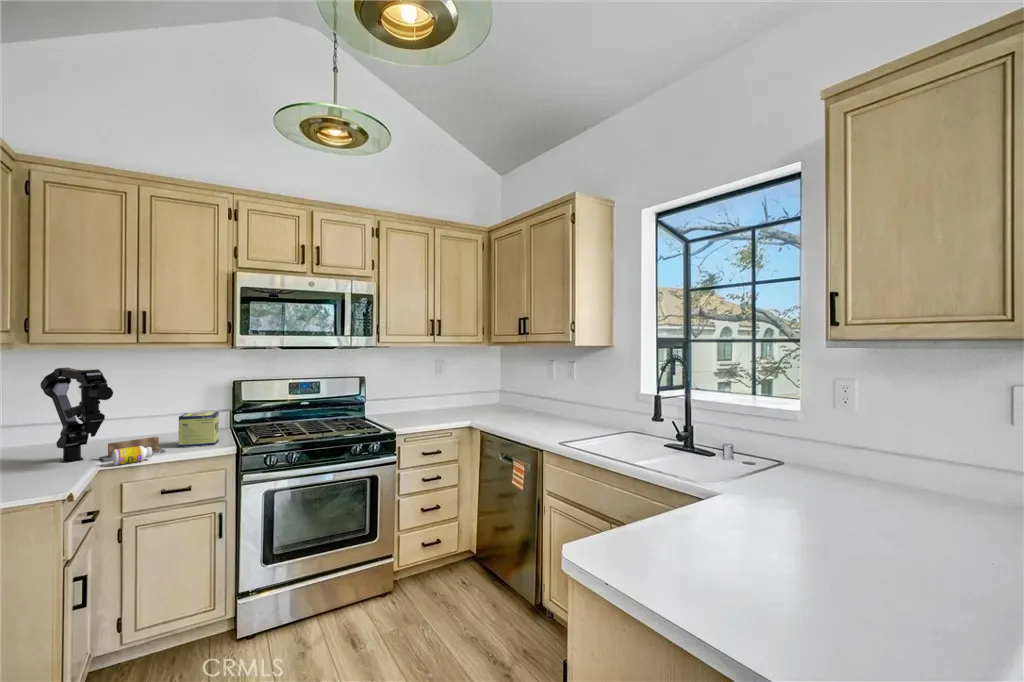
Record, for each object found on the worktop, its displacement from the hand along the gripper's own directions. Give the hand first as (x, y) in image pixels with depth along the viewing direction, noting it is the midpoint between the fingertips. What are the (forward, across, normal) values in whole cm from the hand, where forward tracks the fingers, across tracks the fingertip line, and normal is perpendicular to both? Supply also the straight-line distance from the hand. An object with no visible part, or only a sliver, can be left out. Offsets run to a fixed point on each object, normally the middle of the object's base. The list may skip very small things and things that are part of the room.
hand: (90, 435), depth 202 cm
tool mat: (+12, -1, +15) cm, 19 cm away
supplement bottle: (+9, +12, +5) cm, 16 cm away
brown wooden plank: (+11, -1, +15) cm, 19 cm away
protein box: (+12, -3, +42) cm, 44 cm away
